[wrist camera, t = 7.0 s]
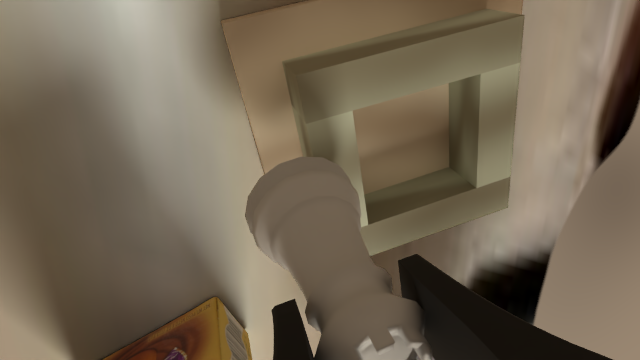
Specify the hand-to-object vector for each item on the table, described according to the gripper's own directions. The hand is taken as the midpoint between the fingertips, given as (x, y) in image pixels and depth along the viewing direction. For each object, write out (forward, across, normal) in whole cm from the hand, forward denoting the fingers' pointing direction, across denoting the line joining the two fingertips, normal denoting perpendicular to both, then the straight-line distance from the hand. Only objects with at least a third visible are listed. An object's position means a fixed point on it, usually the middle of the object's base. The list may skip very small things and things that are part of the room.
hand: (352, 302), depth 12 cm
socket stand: (+10, -6, 0) cm, 12 cm away
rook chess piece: (+6, 0, 0) cm, 6 cm away
